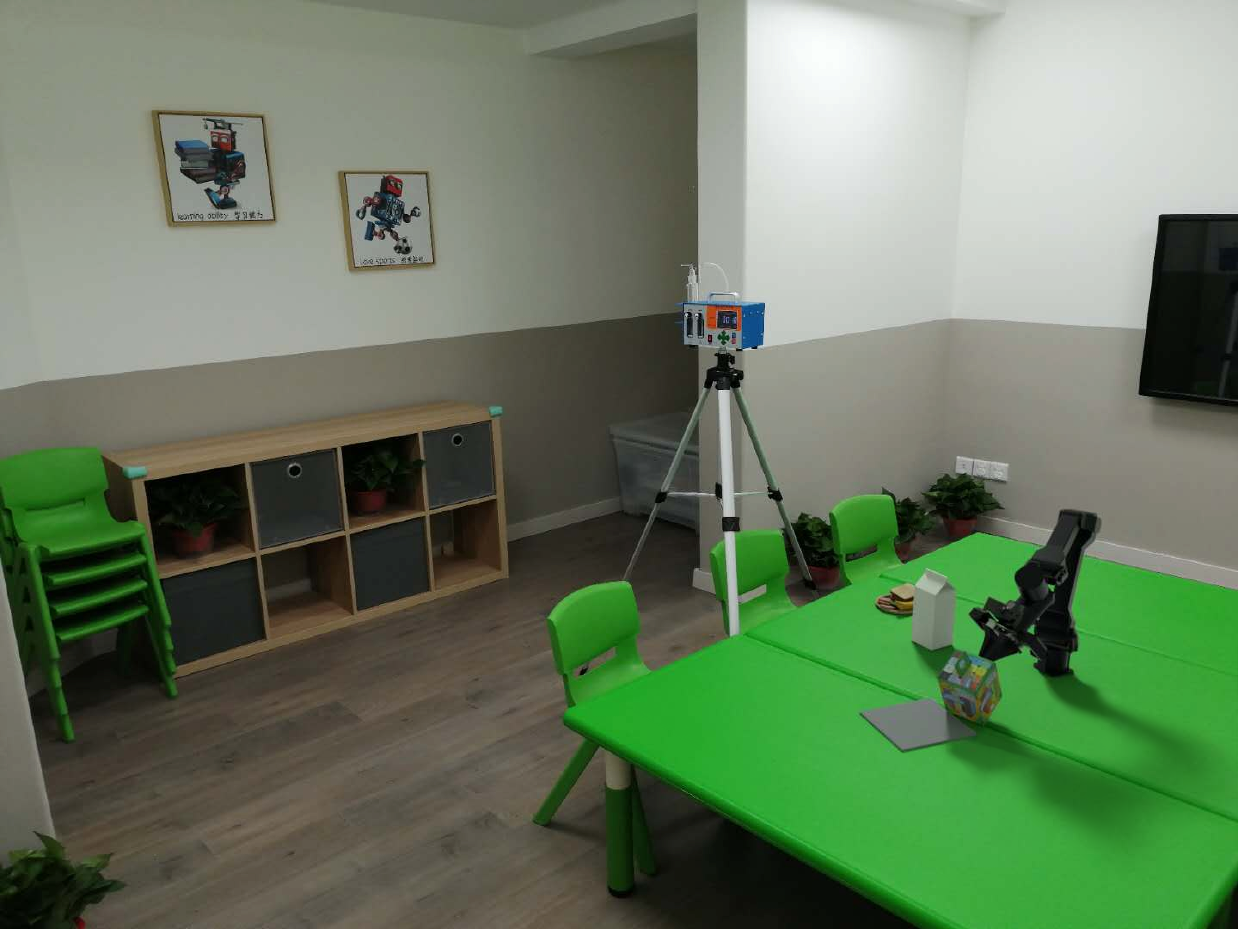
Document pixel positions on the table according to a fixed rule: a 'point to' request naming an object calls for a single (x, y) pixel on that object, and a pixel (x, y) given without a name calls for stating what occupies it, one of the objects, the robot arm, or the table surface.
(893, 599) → the toy sandwich meal
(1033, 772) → the table surface
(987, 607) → the robot arm
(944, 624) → the milk carton
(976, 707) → the chalk box
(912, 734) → the topple mat
